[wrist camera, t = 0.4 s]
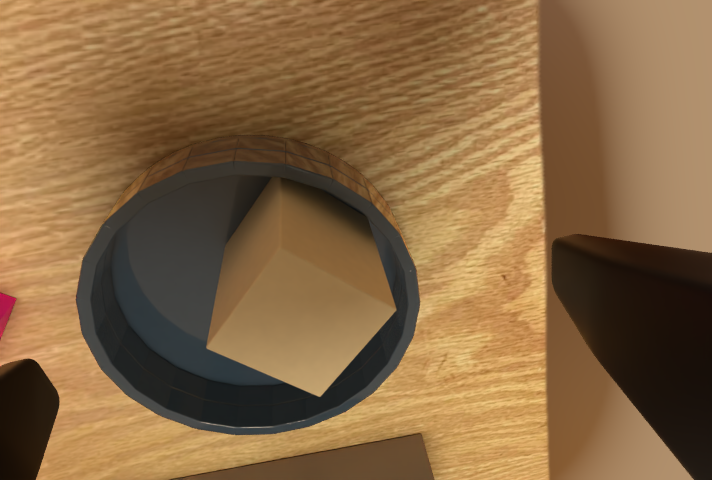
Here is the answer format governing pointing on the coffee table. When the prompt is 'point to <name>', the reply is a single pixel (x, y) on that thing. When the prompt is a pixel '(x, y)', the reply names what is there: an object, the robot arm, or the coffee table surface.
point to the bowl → (200, 281)
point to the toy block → (5, 310)
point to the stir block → (299, 287)
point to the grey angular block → (342, 464)
